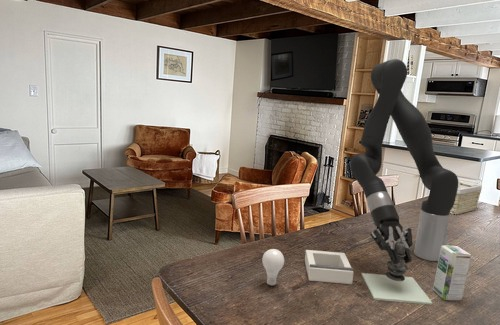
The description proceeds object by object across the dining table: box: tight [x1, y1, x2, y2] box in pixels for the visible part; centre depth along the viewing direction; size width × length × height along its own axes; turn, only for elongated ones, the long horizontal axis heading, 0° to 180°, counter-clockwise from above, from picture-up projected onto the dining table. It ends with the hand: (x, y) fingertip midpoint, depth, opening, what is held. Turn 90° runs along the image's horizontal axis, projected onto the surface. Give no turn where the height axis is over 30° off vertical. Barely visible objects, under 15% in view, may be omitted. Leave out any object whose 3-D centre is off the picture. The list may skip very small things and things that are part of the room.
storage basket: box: [450, 179, 483, 216], centre depth 190 cm, size 24×16×15 cm
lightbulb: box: [261, 248, 285, 286], centre depth 101 cm, size 6×6×11 cm
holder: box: [304, 249, 354, 285], centre depth 111 cm, size 13×13×5 cm
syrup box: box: [432, 244, 472, 301], centre depth 101 cm, size 6×6×14 cm
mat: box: [361, 272, 433, 306], centre depth 104 cm, size 16×14×1 cm
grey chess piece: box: [385, 239, 409, 281], centre depth 102 cm, size 6×6×12 cm
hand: (402, 262), depth 101 cm, fingers closed on grey chess piece, 3 cm apart
